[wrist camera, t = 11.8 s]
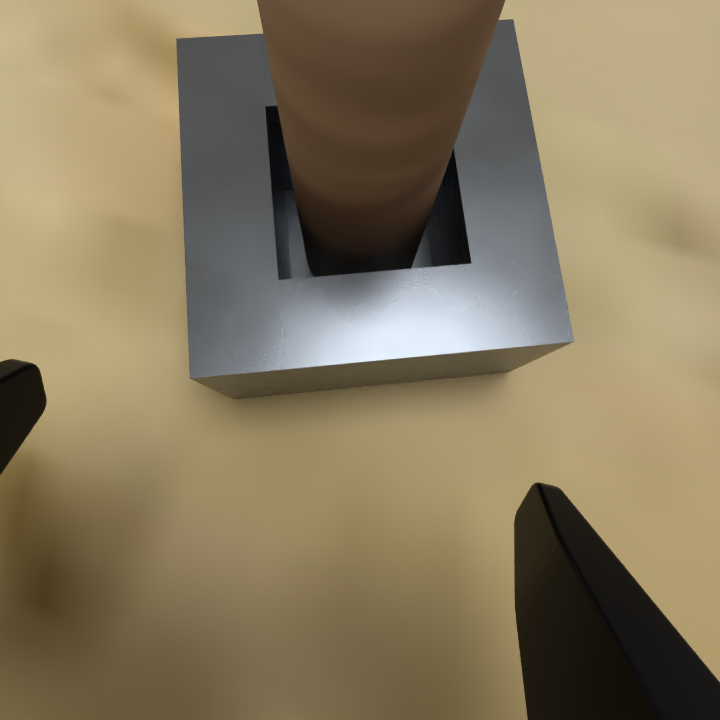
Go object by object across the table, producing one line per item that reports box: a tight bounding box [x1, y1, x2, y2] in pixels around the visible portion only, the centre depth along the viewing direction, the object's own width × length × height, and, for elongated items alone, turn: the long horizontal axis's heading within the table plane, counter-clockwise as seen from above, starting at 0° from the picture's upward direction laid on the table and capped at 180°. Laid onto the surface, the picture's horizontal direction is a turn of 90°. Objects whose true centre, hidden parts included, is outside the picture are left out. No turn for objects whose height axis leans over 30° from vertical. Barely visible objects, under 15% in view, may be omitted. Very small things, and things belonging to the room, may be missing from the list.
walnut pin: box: [257, 0, 505, 277], centre depth 11 cm, size 4×4×13 cm
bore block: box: [176, 19, 574, 399], centre depth 16 cm, size 10×10×5 cm
